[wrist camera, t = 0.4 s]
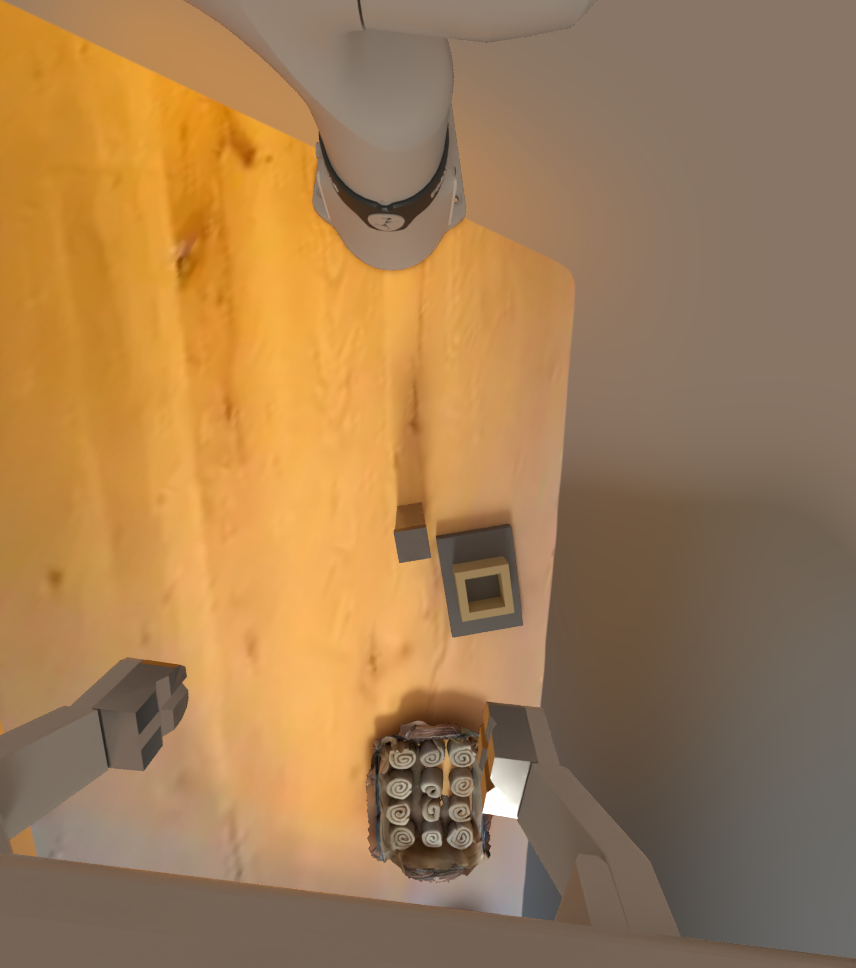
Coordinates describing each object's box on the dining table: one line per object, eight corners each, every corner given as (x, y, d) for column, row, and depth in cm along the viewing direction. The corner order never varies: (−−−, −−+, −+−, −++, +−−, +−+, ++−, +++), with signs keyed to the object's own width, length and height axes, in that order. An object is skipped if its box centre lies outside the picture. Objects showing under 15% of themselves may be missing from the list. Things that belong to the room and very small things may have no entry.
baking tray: (357, 712, 64) (353, 739, 59) (489, 698, 65) (496, 724, 60) (376, 856, 71) (373, 892, 65) (496, 841, 72) (503, 876, 66)
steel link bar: (396, 505, 58) (393, 532, 46) (422, 501, 58) (426, 527, 46) (400, 530, 58) (399, 563, 47) (426, 526, 58) (431, 557, 47)
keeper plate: (436, 536, 59) (438, 547, 54) (508, 524, 59) (517, 533, 55) (451, 632, 62) (454, 649, 58) (520, 620, 62) (528, 636, 58)
